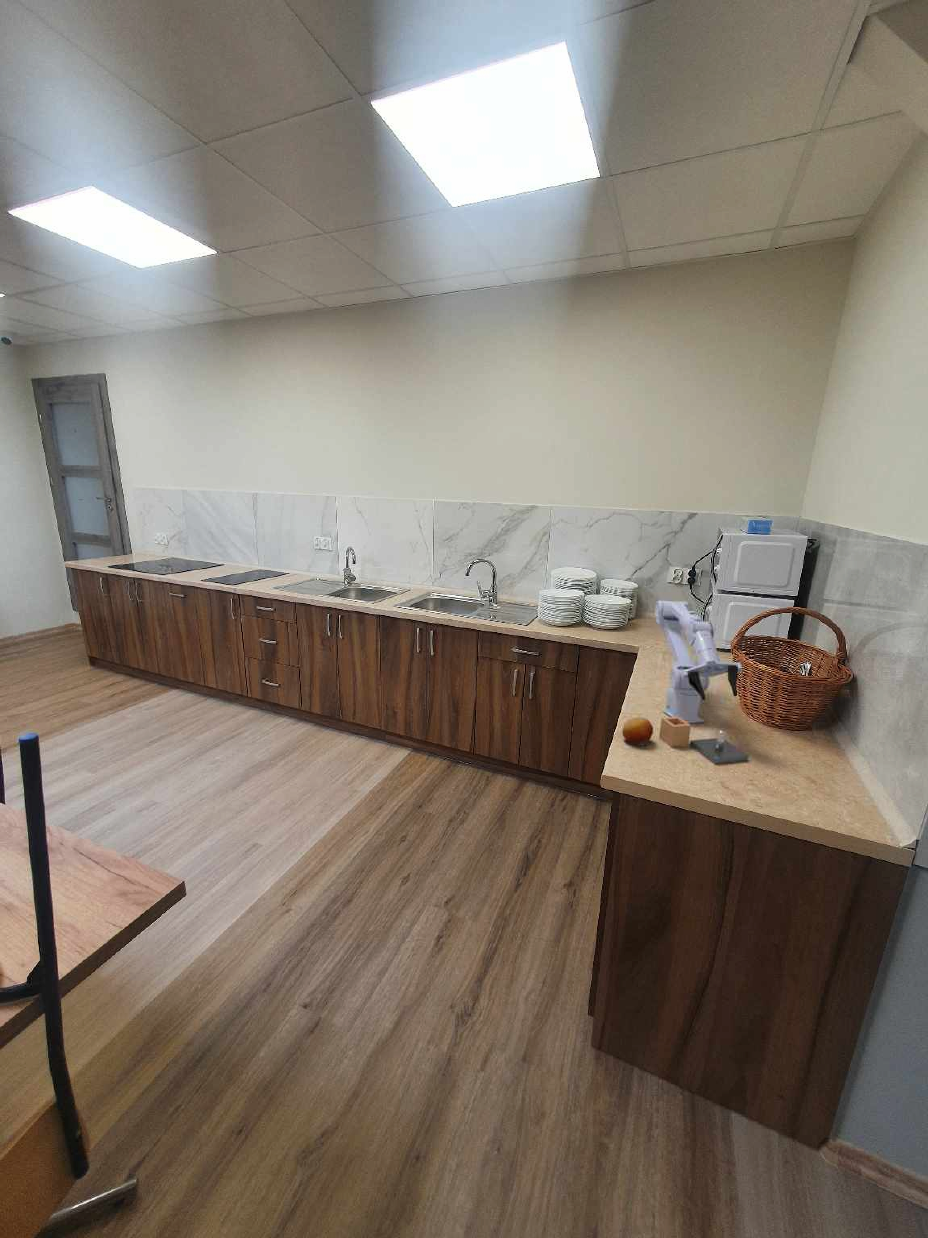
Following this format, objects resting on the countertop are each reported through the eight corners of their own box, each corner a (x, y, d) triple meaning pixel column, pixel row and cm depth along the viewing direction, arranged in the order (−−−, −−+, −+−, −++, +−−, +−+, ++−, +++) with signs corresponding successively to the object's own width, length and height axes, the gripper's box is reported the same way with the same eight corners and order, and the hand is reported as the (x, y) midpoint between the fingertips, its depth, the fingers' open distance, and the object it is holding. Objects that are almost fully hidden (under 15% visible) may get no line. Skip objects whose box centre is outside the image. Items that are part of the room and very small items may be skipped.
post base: (689, 745, 139) (692, 723, 138) (720, 742, 141) (724, 721, 140) (715, 764, 130) (718, 741, 128) (748, 760, 132) (752, 737, 130)
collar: (659, 737, 143) (661, 718, 142) (675, 736, 144) (678, 716, 143) (670, 747, 138) (673, 726, 137) (688, 745, 139) (691, 725, 138)
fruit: (652, 748, 134) (640, 720, 135) (626, 753, 139) (614, 726, 140) (663, 738, 140) (651, 710, 141) (637, 743, 145) (626, 717, 146)
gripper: (678, 650, 141) (689, 691, 132) (735, 642, 137) (751, 683, 128) (679, 665, 146) (690, 705, 137) (735, 658, 142) (749, 699, 132)
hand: (719, 696), depth 133 cm, fingers open, 7 cm apart
